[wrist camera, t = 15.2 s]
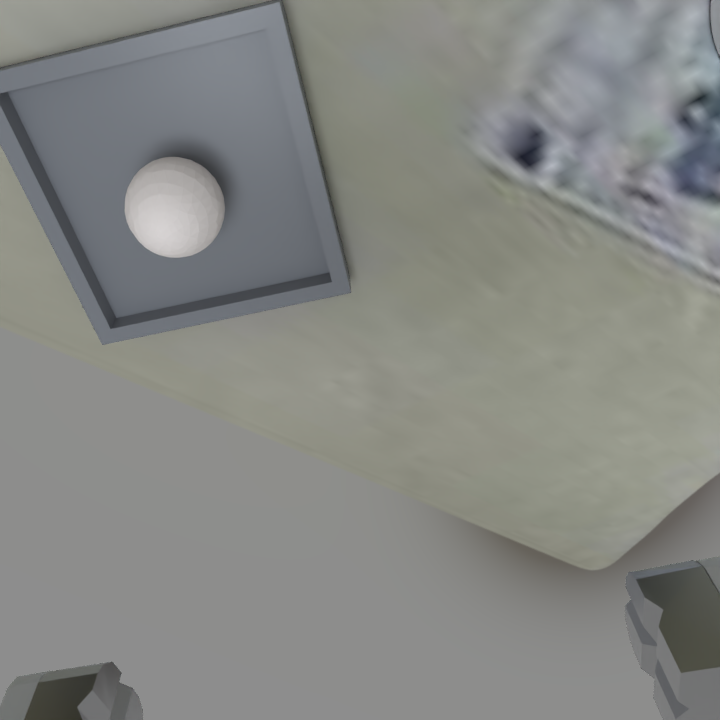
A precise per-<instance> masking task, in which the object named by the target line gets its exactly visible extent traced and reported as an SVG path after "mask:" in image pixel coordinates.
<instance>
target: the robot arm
mask: <svg viewBox="0 0 720 720" xmlns="http://www.w3.org/2000/svg"><path fill="white" fill-rule="evenodd" d="M711 28H712V34H713V38H714V42H715V46H716V48H717V51H718V53H719V56H720V0H711ZM626 589H627V591H628V594H629V596H630V598H631V600H630V601H629V602H628V603H627V604H626V606H625V616H626V624H627V629H628V634H629V638H630V641H631V644H632V647H633V650H634V653H635V655H636V657H637V660H638V662H639V665H640V667H641V669H642V670H644V671H645V672H646V673H648V674H649V675H650V676H652V677H653V678H654V679H655V680H654V700H655V702H656V704H657V707H658V709H659V711H660V714H661V716H662V718H663V720H720V556H719V557H713V558H708V559H703V560H698V561H694V560H691V561H686V562H681V563H676V564H670V565H665V566H660V567H654V568H649V569H644V570H639V571H633V572H629V573H628V575H627V576H626ZM120 677H121V671H120V670H119V669H118V668H117V667H116V665H115V664H114V663H113V662H107V663H100V664H94V665H88V666H82V667H75V668H69V669H63V670H56V671H47V672H42V673H36V674H30V675H24V676H19V677H17V678H16V679H15V680H14V681H13V682H12V683H11V685H10V686H9V687H8V689H7V691H6V693H5V696H4V698H3V700H2V703H1V705H0V720H143V709H142V706H141V703H140V700H139V696H138V695H137V694H136V692H135V691H134V689H133V688H131V687H129V686H127V685H124V684H122V683H120V682H119V681H120Z"/></svg>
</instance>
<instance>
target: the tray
mask: <svg viewBox="0 0 720 720" xmlns="http://www.w3.org/2000/svg"><path fill="white" fill-rule="evenodd" d="M0 145H1V147H2V149H3V151H4V153H5V155H6V157H7V159H8V161H9V163H10V164H11V166H12V168H13V170H14V172H15V174H16V176H17V178H18V180H19V182H20V184H21V186H22V188H23V190H24V192H25V194H26V196H27V198H28V200H29V202H30V204H31V206H32V208H33V210H34V212H35V214H36V216H37V217H38V219H39V221H40V223H41V225H42V227H43V229H44V231H45V233H46V235H47V237H48V239H49V241H50V243H51V245H52V247H53V249H54V251H55V253H56V255H57V257H58V259H59V261H60V263H61V265H62V267H63V269H64V271H65V272H66V274H67V276H68V278H69V280H70V282H71V284H72V286H73V288H74V290H75V292H76V294H77V296H78V298H79V300H80V302H81V304H82V306H83V308H84V310H85V312H86V314H87V316H88V318H89V320H90V322H91V324H92V326H93V327H94V329H95V331H96V333H97V335H98V337H99V339H100V341H101V343H102V345H104V344H109V343H114V342H119V341H123V340H128V339H133V338H138V337H143V336H147V335H152V334H157V333H162V332H166V331H171V330H176V329H181V328H185V327H190V326H195V325H200V324H204V323H209V322H214V321H219V320H223V319H228V318H233V317H238V316H243V315H247V314H252V313H257V312H262V311H266V310H271V309H276V308H281V307H285V306H290V305H295V304H300V303H304V302H309V301H314V300H319V299H324V298H328V297H333V296H338V295H343V294H347V293H351V286H350V276H349V272H348V268H347V264H346V260H345V256H344V252H343V248H342V244H341V239H340V235H339V231H338V227H337V223H336V219H335V215H334V211H333V207H332V203H331V198H330V194H329V190H328V186H327V182H326V178H325V174H324V170H323V166H322V162H321V158H320V153H319V149H318V145H317V141H316V137H315V133H314V129H313V125H312V121H311V117H310V112H309V108H308V104H307V100H306V96H305V92H304V88H303V84H302V80H301V76H300V72H299V67H298V63H297V59H296V55H295V51H294V47H293V43H292V39H291V35H290V31H289V26H288V22H287V18H286V14H285V10H284V6H283V2H282V0H272V1H268V2H264V3H260V4H256V5H252V6H248V7H244V8H240V9H236V10H232V11H228V12H224V13H220V14H216V15H212V16H208V17H204V18H199V19H195V20H191V21H187V22H183V23H179V24H175V25H171V26H167V27H163V28H159V29H155V30H151V31H147V32H143V33H139V34H135V35H131V36H126V37H122V38H118V39H114V40H110V41H106V42H102V43H98V44H94V45H90V46H86V47H82V48H78V49H74V50H70V51H66V52H62V53H58V54H54V55H49V56H45V57H41V58H37V59H33V60H29V61H25V62H21V63H17V64H13V65H9V66H5V67H1V68H0ZM164 157H181V158H185V159H189V160H192V161H194V162H196V163H198V164H200V165H202V166H203V167H204V168H205V169H207V170H208V171H209V172H210V173H211V175H212V176H213V177H214V178H215V179H216V181H217V183H218V185H219V186H220V188H221V191H222V193H223V196H224V204H225V213H224V220H223V223H222V226H221V229H220V231H219V233H218V235H217V236H216V238H215V239H214V240H213V242H212V243H211V244H210V245H208V246H207V247H206V248H205V249H203V250H202V251H200V252H199V253H196V254H194V255H191V256H187V257H180V258H170V257H165V256H160V255H158V254H155V253H153V252H151V251H150V250H148V249H146V248H145V247H144V246H143V245H142V244H141V243H140V242H139V241H138V240H137V239H136V237H135V236H134V234H133V233H132V231H131V230H130V228H129V226H128V223H127V220H126V216H125V211H124V210H125V196H126V192H127V189H128V186H129V184H130V183H131V181H132V179H133V177H134V176H135V175H136V174H137V172H138V171H139V170H140V169H141V168H143V167H144V166H146V165H147V164H149V163H150V162H152V161H154V160H157V159H160V158H164Z"/></svg>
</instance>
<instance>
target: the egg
mask: <svg viewBox="0 0 720 720" xmlns="http://www.w3.org/2000/svg"><path fill="white" fill-rule="evenodd" d="M124 211H125V216H126V220H127V223H128V226H129V228H130V230H131V231H132V233H133V234H134V236H135V237H136V239H137V240H138V241H139V242H140V243H141V244H142V245H143V246H144V247H145V248H146V249H148V250H150V251H151V252H153V253H155V254H158V255H160V256H165V257H170V258H180V257H187V256H191V255H194V254H196V253H199V252H200V251H202V250H203V249H205V248H206V247H207V246H208V245H210V244H211V243H212V242H213V240H214V239H215V238H216V236H217V235H218V233H219V231H220V229H221V226H222V223H223V220H224V213H225V204H224V196H223V193H222V191H221V188H220V186H219V185H218V183H217V181H216V179H215V178H214V177H213V176H212V175H211V173H210V172H209V171H208V170H207V169H205V168H204V167H203V166H202V165H200V164H198V163H196V162H194V161H192V160H189V159H185V158H181V157H164V158H160V159H157V160H154V161H152V162H150V163H149V164H147V165H146V166H144V167H143V168H141V169H140V170H139V171H138V172H137V174H136V175H135V176H134V177H133V179H132V181H131V183H130V184H129V186H128V189H127V192H126V196H125V210H124Z"/></svg>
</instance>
